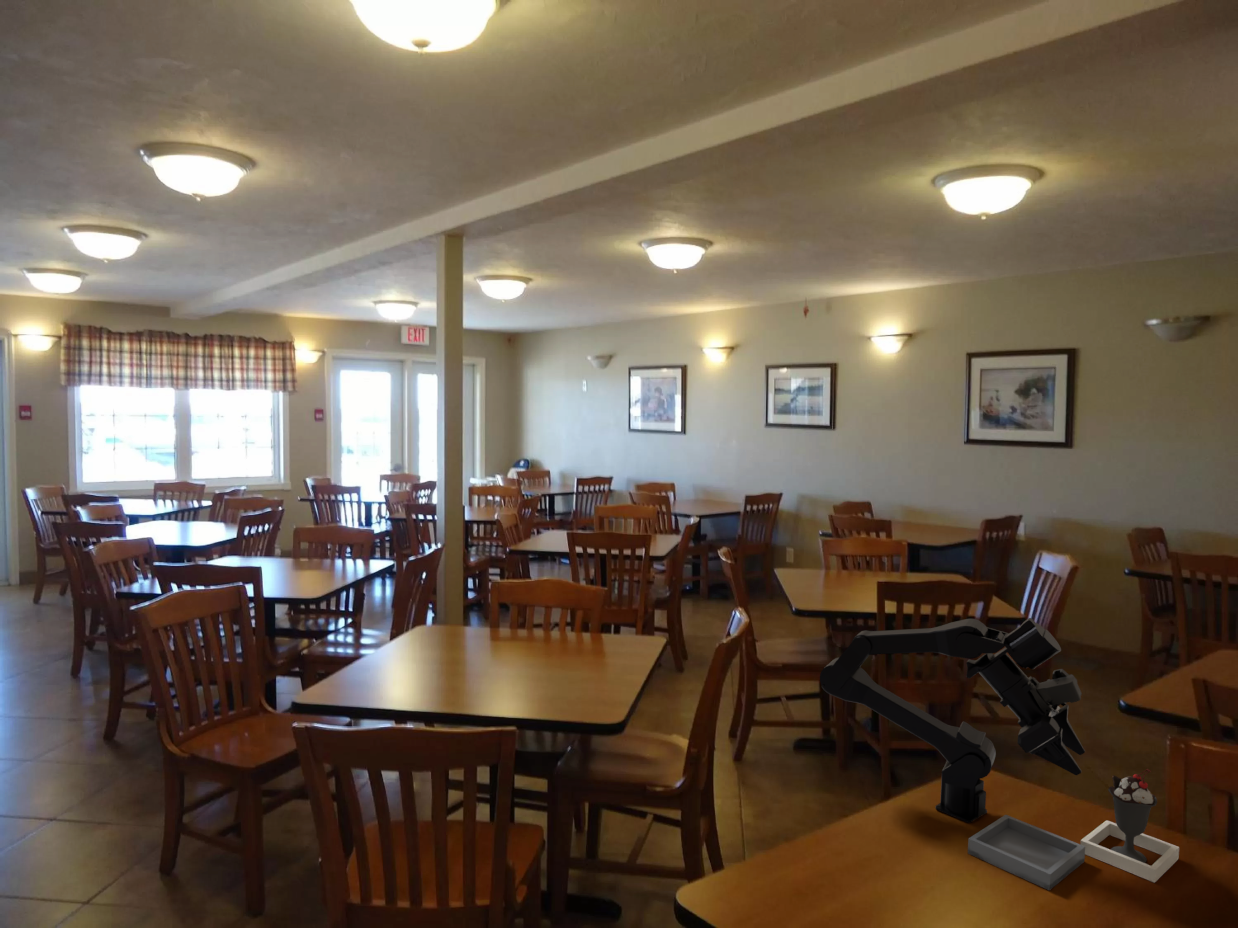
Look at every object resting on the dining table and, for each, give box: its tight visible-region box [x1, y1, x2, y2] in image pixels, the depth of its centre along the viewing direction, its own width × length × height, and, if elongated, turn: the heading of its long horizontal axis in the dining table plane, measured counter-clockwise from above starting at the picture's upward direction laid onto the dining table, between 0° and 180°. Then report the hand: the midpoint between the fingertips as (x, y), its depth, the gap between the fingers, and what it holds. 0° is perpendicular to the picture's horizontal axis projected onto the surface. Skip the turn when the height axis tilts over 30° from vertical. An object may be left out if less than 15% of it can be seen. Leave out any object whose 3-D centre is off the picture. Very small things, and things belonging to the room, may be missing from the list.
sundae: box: [1107, 768, 1158, 864], centre depth 130 cm, size 7×7×15 cm
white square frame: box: [1079, 820, 1180, 884], centre depth 130 cm, size 11×11×2 cm
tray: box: [967, 814, 1086, 891], centre depth 129 cm, size 13×13×2 cm
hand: (1081, 763), depth 133 cm, fingers open, 9 cm apart
